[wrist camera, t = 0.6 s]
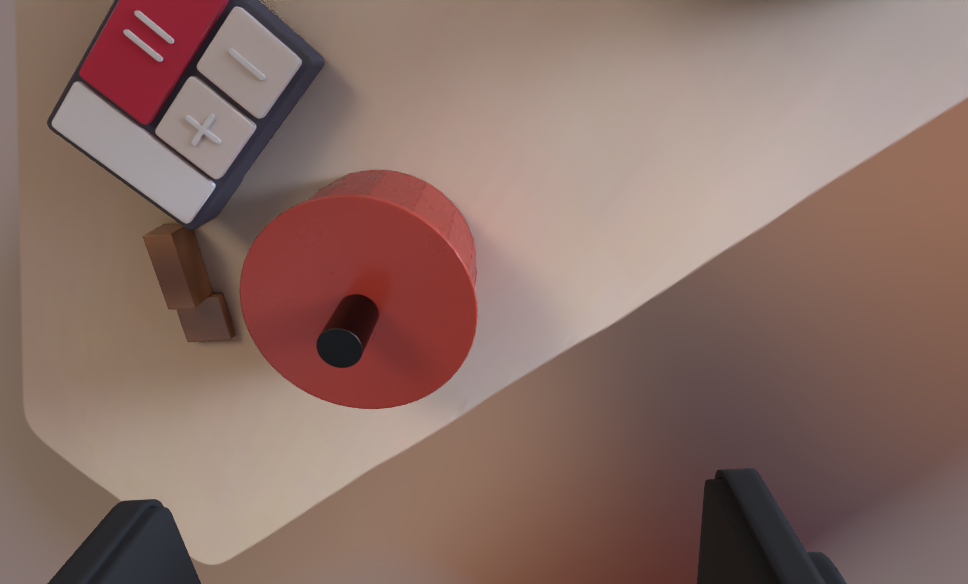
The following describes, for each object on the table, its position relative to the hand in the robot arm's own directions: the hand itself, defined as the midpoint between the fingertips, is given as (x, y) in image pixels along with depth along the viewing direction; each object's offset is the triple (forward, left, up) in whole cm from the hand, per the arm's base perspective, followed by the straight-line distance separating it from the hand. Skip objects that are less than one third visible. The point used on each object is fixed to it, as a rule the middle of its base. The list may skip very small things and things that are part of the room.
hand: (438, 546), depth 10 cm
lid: (+7, -8, -25) cm, 27 cm away
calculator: (-6, -19, -33) cm, 39 cm away
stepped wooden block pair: (+8, -24, -33) cm, 42 cm away
